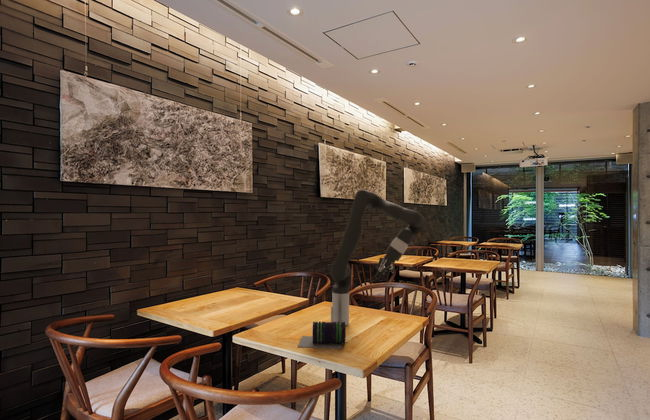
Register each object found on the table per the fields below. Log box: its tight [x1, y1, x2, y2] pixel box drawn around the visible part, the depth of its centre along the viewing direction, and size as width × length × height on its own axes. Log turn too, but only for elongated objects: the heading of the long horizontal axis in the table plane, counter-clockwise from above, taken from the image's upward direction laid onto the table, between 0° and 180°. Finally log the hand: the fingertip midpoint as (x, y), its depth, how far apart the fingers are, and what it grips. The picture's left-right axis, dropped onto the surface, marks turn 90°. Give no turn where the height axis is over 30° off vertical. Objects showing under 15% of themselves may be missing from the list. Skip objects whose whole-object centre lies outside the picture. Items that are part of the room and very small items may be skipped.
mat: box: [297, 335, 343, 350], centre depth 173 cm, size 20×14×1 cm
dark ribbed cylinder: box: [312, 321, 347, 345], centre depth 172 cm, size 10×10×15 cm
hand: (376, 278), depth 177 cm, fingers closed
